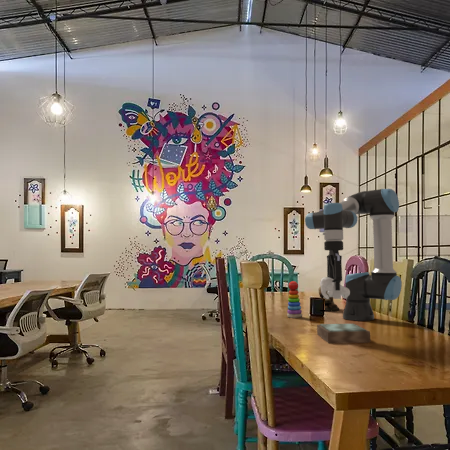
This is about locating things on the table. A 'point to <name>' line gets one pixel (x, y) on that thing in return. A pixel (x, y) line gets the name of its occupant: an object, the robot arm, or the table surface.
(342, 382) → the table surface
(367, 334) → the square wooden tray
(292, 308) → the stacking toy
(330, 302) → the owl figurine
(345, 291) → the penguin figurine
